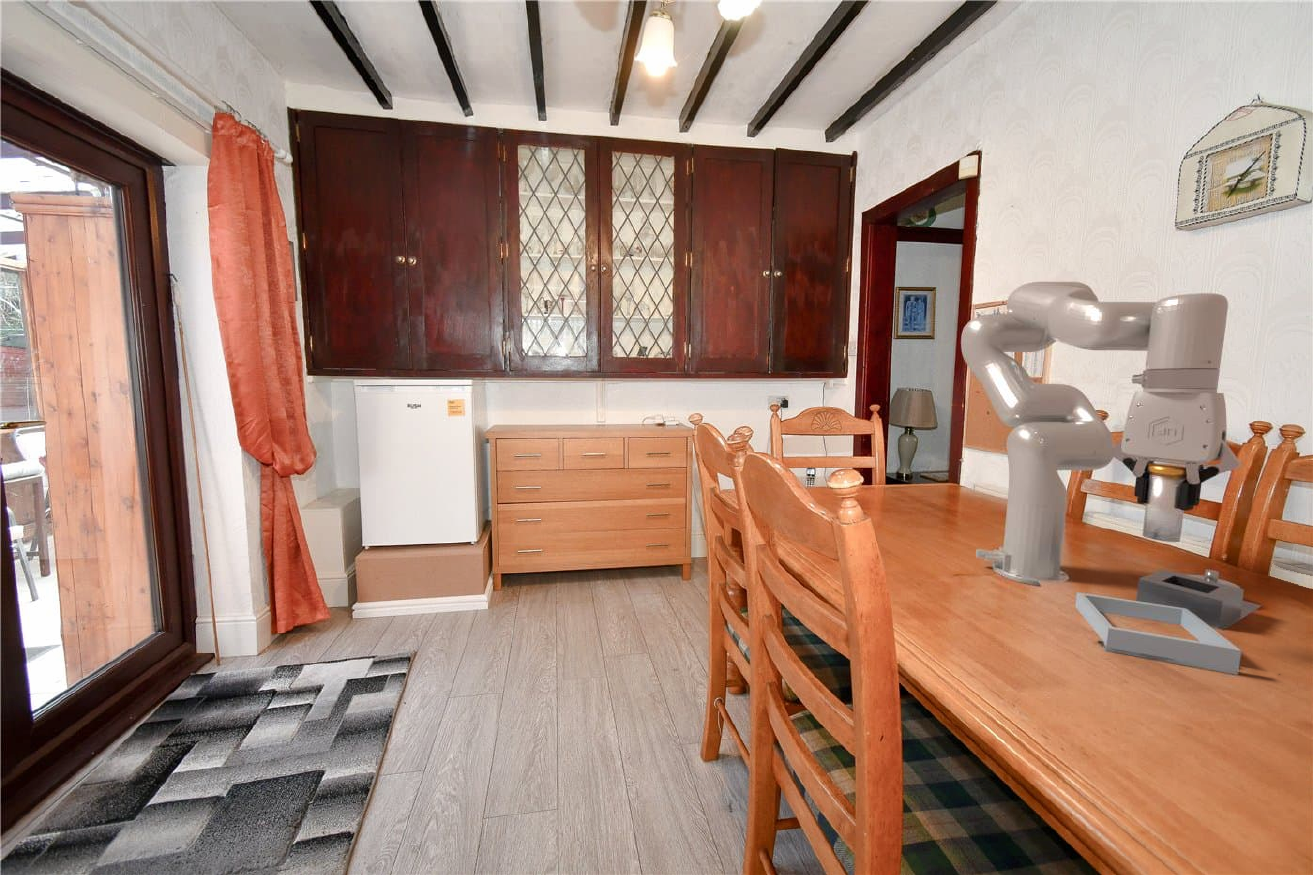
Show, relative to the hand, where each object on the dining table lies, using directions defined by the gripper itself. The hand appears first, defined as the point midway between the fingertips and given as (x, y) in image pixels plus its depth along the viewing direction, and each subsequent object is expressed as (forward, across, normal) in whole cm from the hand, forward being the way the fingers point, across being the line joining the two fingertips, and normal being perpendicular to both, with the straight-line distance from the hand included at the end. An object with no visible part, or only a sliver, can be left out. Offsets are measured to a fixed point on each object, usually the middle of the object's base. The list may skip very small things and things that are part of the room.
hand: (1164, 504), depth 75 cm
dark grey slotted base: (+21, -1, +22) cm, 31 cm away
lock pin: (+5, 0, 0) cm, 5 cm away
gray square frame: (+21, 0, 0) cm, 21 cm away
